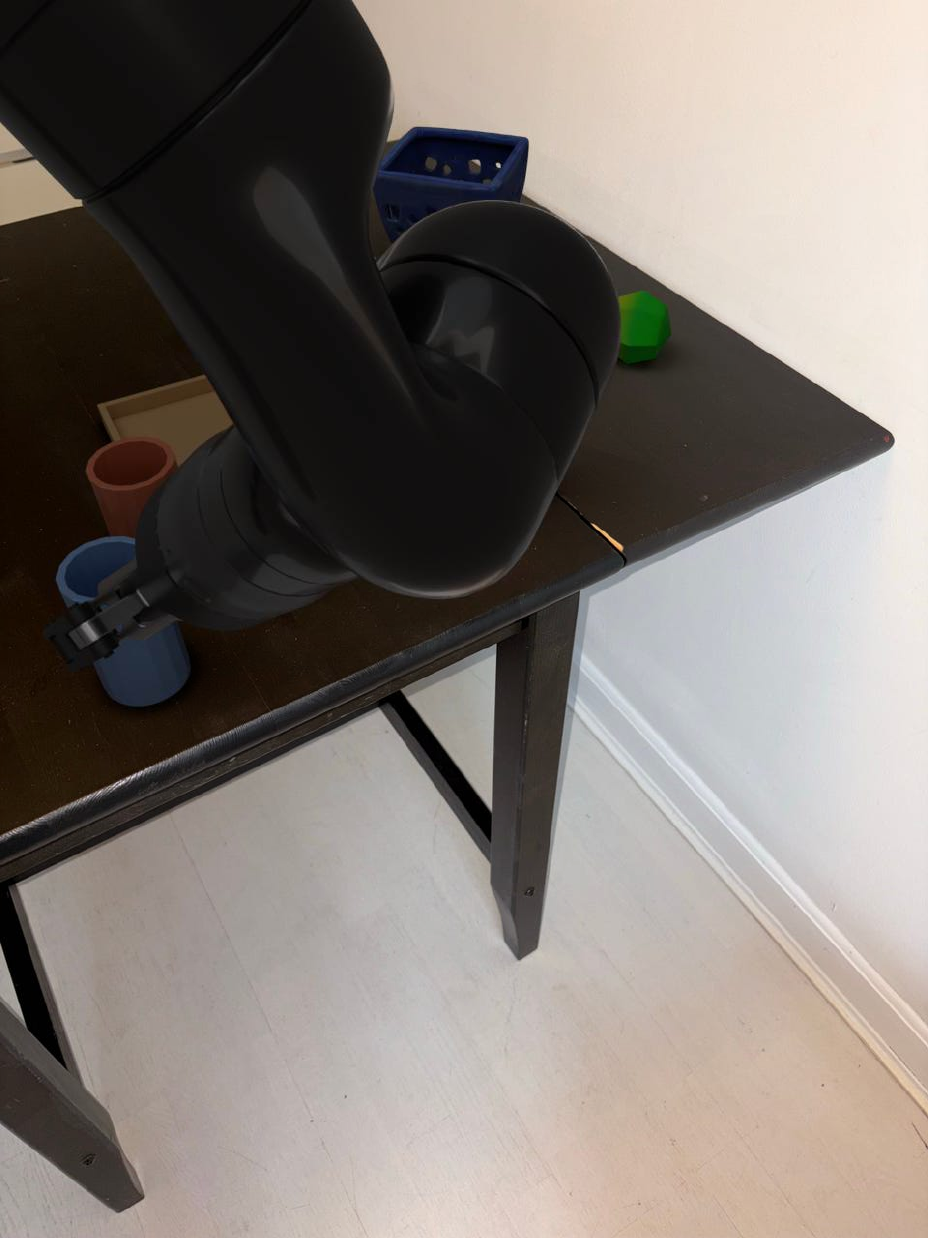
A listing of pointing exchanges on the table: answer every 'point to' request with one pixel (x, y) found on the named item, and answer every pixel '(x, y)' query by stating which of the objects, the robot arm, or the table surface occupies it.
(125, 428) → the tray
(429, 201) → the flower pot
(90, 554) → the blue cup
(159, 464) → the red cup
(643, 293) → the apple
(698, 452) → the table surface
